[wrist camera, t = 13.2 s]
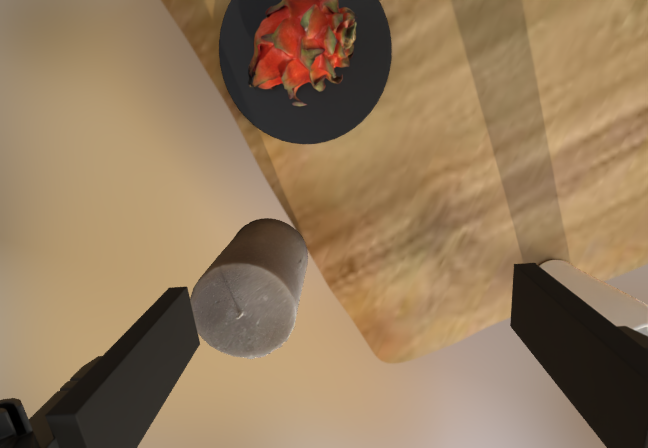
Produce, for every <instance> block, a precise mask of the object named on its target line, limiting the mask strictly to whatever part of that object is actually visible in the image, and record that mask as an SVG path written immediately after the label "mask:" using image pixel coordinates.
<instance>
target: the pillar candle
mask: <svg viewBox="0 0 648 448" xmlns="http://www.w3.org/2000/svg"><path fill="white" fill-rule="evenodd" d="M307 263H308V253H307V247H306V245H305V241H304V240H303V238H302V237H301V235H300V234H299V233H298V232H297V231H296V230H295V229H294V228H293V227H291V226H290V225H288V224H287V223H285V222H282V221H279V220H276V219H268V218H267V219H259V220H255V221H252V222H250V223H249V224H247V225H245V226H244V227H243V228H242V229H241V230H240V231H239V232H238V233H237V234H236V236H235V237H234V239H233V240H232V241H231V242H230V244H229V245H228V246H227V247H226V248H225V249H224V250H223V251H222V252H221V254H220V255H219V256H218V257H217V258H216V260H215V261H214V262H213V263H212V264H211V266H210V267H209V268H208V269H207V271H206V272H205V273H204V274H203V275H202V277H201V278H200V279H199V280H198V282H197V284H196V285H195V287H194V288H193V292H192V295H191V298H190V302H191V306H192V311H193V315H194V320H195V324H196V328H197V332H198V334H199V335H200V336H201V337H202V338H203V339H204V340H205V341H206V342H207V343H208V344H209V345H210V346H212V347H214V348H215V349H217V350H219V351H221V352H223V353H226V354H228V355H231V356H236V357H244V358H249V359H253V358H255V357H263V356H266V355H267V354H270V353H271V352H272V351H274V350H275V349H277V348H280V347H281V346H282V344H283V343H284V342H286V341H287V340H288V338H289V336H290V334H291V332H292V330H293V329H294V325H295V319H296V315H297V309H298V305H299V301H300V296H301V291H302V286H303V282H304V277H305V273H306V267H307Z"/></svg>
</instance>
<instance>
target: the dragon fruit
mask: <svg viewBox="0 0 648 448" xmlns="http://www.w3.org/2000/svg"><path fill="white" fill-rule="evenodd" d="M265 14H266V16H267V17H266V19H264V20H263V21H262V22H261V24H260V26H259V28H258V30H257V31H256V33H255V38H254V43H253V45H254V55H253V58H252V60H251V62H250V65H249V67H248V77H249V80H248V85H249V86H250V87H253V88H254V89H255V90H256V87H259V88H261V89H273V90H274V89H276V87H277V86H278V85H279V84H283V85H284V89H287V92H288V97H289V99H291V98H294V99H295V100H296V102H293V103H292V104H293V105H295V106H304V105H307V104H305V103H303V102H301V101H300V100H299V99H298V98H297V97H296V92H297V90H298V88H299V87H300V86H301V85H303V84H305V83H307V82H310V83H311V84H312V86H313V88H315V89H316V90H318V91H319V92H320V91H323V90H324V88H325V83H324V79H325V77H326V78H327V79H328V80H329V81H330V82H332V83H336V84H339V83H340V82H341V81H342V79H343V74H342V75H341V77H339V76H337V75H336V73H335V72H334V68H335V67H349V65H350V61H349V59H351V58H352V56H353V54H354V51H353V50H354V45H353V43H354V41H355V40H356V22H354V21H355V18H354V17H356V15H357V14H355V13H354V12H353V11H352V10H351V9H349V8H347V7H343V8H340V9H339V8H338V0H282V1H281V2H280V3H279V4H277V5H275V6H273V7H270V8H268V9H267V11H266V13H265ZM356 18H357V17H356ZM353 23H354V24H353ZM254 74H255V76H254ZM253 76H254V79H253V83H252V78H253ZM257 96H258V95H257Z"/></svg>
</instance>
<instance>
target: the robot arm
mask: <svg viewBox="0 0 648 448" xmlns="http://www.w3.org/2000/svg"><path fill="white" fill-rule="evenodd" d="M510 326H511V327H512V329H513V330H514V331H515V332H516V334H517V335H518V336H519V337H520V339H521V340H522V341H523V343H524V344H525V345H526V346H527V347H528V349H529V350H530V351H531V353H532V354H533V355H534V356H535V358H536V359H537V360H538V361H539V363H540V364H541V365H542V366H543V368H544V369H545V370H546V371H547V373H548V374H549V375H550V376H551V378H552V379H553V380H554V381H555V383H556V384H557V385H558V387H559V388H560V389H561V390H562V391H563V393H564V394H565V395H566V397H567V398H568V399H569V400H570V402H571V403H572V404H573V405H574V406H575V408H576V409H577V410H578V412H579V413H580V414H581V415H582V417H583V418H584V419H585V420H586V421H587V423H588V424H589V426H590V427H591V428H592V429H593V430H594V432H595V433H596V434H597V435H598V437H599V438H600V439H601V441H602V442H603V443H604V444H605V446H606V447H607V448H648V336H646V335H644V334H642V333H640V332H638V331H636V330H633V329H631V328H629V327H627V326H615V325H614V324H613V323H611V322H610V321H609V320H608V319H606V318H605V317H604V316H602V315H601V314H600V313H599V312H597V311H596V310H595V309H593V308H592V307H591V306H590V305H588V304H587V303H586V302H584V301H583V300H582V299H581V298H579V297H578V296H577V295H575V294H574V293H573V292H572V291H570V290H569V289H568V288H566V287H565V286H564V285H563V284H561V283H560V282H559V281H557V280H556V279H555V278H554V277H552V276H551V275H550V274H548V273H547V272H546V271H545V270H543V269H542V268H541V267H539V266H538V265H537V264H535V263H525V264H514V276H513V292H512V309H511V325H510ZM199 345H200V342H199V337H198V333H197V328H196V324H195V320H194V315H193V311H192V306H191V302H190V297H189V293H188V289H187V287H175V288H169V289H168V290H167V291H166V292H165V293H164V294H163V295H162V296H161V297H160V298H159V299H158V300H157V301H156V302H155V303H154V304H153V305H152V306H151V307H150V308H149V309H148V310H147V311H146V312H145V313H144V314H143V315H142V316H141V317H140V318H139V319H138V320H137V321H136V323H134V324H133V325H132V327H131V328H130V329H129V330H128V331H127V332H126V333H125V334H124V335H123V336H122V337H121V338H120V339H119V340H118V341H117V342H116V343H115V344H114V345H113V346H112V347H111V348H110V349H109V350H108V351H107V352H106V353H105V354H104V355H103V356H98V357H97V358H95V359H94V360H92V361H91V362H89V363H88V364H86V365H84V366H83V367H82V368H81V369H80V370H79V371H78V372H77V373H76V374H75V375H74V376H73V377H72V378H71V379H70V381H68V382H67V383H65V384H64V385H63V386H62V387H61V388H60V391H58V392H57V393H55V394H54V395H53V396H52V397H51V398H50V399H49V400H48V401H47V402H46V403H45V404H44V405H43V406H42V407H41V408H40V409H39V410H38V411H37V412H36V413H35V414H34V415H33V416H32V417H31V418H30V419H28V417H27V415H26V412H25V410H24V407H23V405H22V403H21V401H20V400H19V399H15V398H11V399H3V400H0V448H137V447H138V445H139V443H140V442H141V440H142V438H143V437H144V435H145V434H146V432H147V430H148V429H149V427H150V425H151V423H152V422H153V420H154V419H155V417H156V415H157V414H158V412H159V410H160V409H161V407H162V405H163V404H164V402H165V401H166V399H167V397H168V396H169V394H170V392H171V391H172V389H173V387H174V386H175V384H176V382H177V381H178V379H179V377H180V376H181V374H182V373H183V371H184V369H185V368H186V366H187V364H188V363H189V361H190V359H191V358H192V356H193V354H194V353H195V351H196V350H197V348H198V346H199Z"/></svg>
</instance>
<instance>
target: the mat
mask: <svg viewBox="0 0 648 448" xmlns="http://www.w3.org/2000/svg"><path fill="white" fill-rule="evenodd" d="M281 1H282V0H231V2H230V4H229V5H228V8H227V10H226V13H225V16H224V19H223V23H222V27H221V32H220V40H219V57H220V66H221V70H222V75H223V79H224V81H225V84H226V87H227V90H228V92H229V94H230V95H231V97H232V99H233V101H234V103H235V104H236V106H237V107H238V109H239V110H240V111H241V112H242V113H243V115H244V116H245V117H246V118H247V119H248V120H249V121H250V122H251V123H252V124H253V125H255V126H256V127H257V128H259V129H260V130H262V131H263V132H265V133H267V134H268V135H270V136H272V137H275V138H277V139H280V140H282V141H286V142H291V143H297V144H316V143H321V142H326V141H329V140H332V139H335V138H337V137H340V136H342V135H344V134H346V133H347V132H349V131H350V130H352V129H353V128H355V127H356V126H357V125H358V124H359V123H361V122H362V121H363V120H364V119H365V118H366V117H367V115H368V114H369V113H370V112H371V111H372V109H373V108H374V106H375V105H376V104H377V102H378V100H379V98H380V96H381V94H382V92H383V90H384V87H385V85H386V82H387V79H388V75H389V71H390V64H391V36H390V30H389V26H388V22H387V18H386V16H385V13H384V10H383V8H382V6H381V4H380V2H379V0H338V8H339V9H340V8H343V7H347V8H349V9H351V10H352V11H353V12H354V13H355V14H357V15H356V17H357V18H356V17H354V18H355V21H354V22H356V40H355V41H354V43H353V45H354V50H353V51H354V54H353V56H352V58H351V59H349V61H350V65H349V67H335V68H334V72H335V73H336V75H337V76H339V77H341V75H342V74H343V79H342V81H341V82H340V83H339V84H336V83H332V82H330V81H329V80H328V79H327V78H326V77H325V79H324V83H325V88H324V90H323V91H320V92H319V91H318V90H316V89H315V88H313V86H312V84H311V83H310V82H307V83H305V84H303V85H301V86H300V87H299V88H298V90H297V92H296V97H297V98H298V99H299V100H300V101H301V102H303V103H305V104H307V105H304V106H295V105H293V104H292V103H293V102H296V100H295V99H294V98H291V99H289V97H288V92H287V89H284V85H283V84H279V85H278V86H277V87H276V89H274V90H273V89H261V88H259V87H256V90H255V89H254V88H253V87H250V86H249V85H248V80H249V77H248V67H249V65H250V62H251V60H252V58H253V55H254V45H253V43H254V38H255V33H256V31H257V30H258V28H259V26H260V24H261V22H262V21H263V20H264V19H266V17H267V16H266V14H265V13H266V11H267V9H268V8H270V7H273V6H275V5H277V4H279V3H280V2H281ZM353 24H354V23H353ZM254 76H255V74H254ZM254 76H253V78H252V83H253V79H254ZM257 95H258V96H257Z"/></svg>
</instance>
